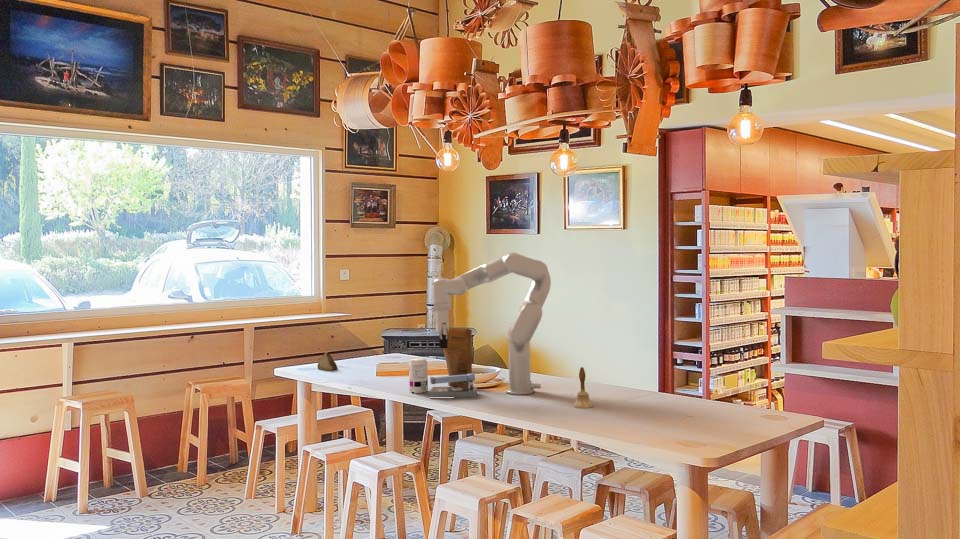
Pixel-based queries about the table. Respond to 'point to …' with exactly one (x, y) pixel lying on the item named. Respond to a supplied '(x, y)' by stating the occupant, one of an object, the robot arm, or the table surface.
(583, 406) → the hand bell
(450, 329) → the pancake mix bag
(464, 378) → the bar
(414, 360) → the supplement can
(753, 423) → the table surface
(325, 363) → the rock
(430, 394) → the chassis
